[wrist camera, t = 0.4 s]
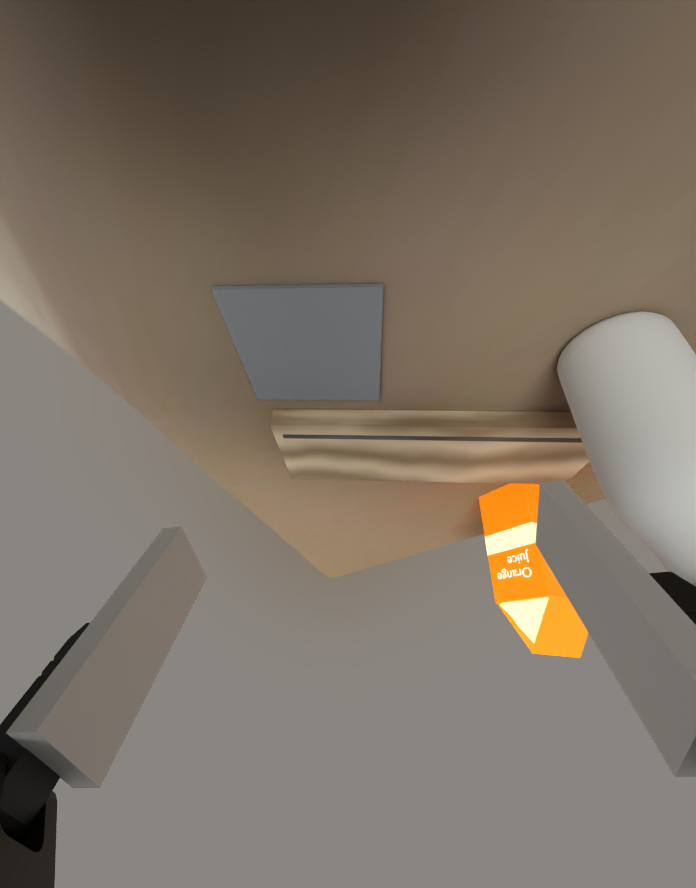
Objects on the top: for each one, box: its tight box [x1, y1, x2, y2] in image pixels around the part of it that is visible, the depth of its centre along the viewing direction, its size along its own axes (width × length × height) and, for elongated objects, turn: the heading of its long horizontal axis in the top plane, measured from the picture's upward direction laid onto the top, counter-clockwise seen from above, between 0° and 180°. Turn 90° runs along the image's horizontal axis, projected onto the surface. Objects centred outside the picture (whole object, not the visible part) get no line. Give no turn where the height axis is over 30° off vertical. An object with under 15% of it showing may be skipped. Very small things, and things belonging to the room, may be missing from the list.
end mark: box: [211, 283, 383, 401], centre depth 29 cm, size 12×12×1 cm
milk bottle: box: [557, 311, 696, 586], centre depth 22 cm, size 8×8×20 cm
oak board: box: [270, 409, 589, 484], centre depth 40 cm, size 12×34×2 cm, turn 93°
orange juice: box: [479, 483, 588, 658], centre depth 46 cm, size 8×9×20 cm
